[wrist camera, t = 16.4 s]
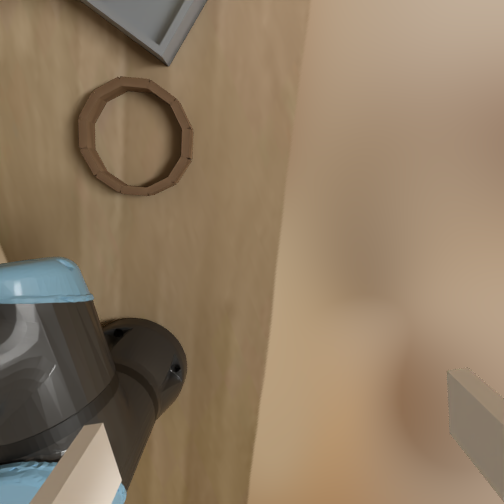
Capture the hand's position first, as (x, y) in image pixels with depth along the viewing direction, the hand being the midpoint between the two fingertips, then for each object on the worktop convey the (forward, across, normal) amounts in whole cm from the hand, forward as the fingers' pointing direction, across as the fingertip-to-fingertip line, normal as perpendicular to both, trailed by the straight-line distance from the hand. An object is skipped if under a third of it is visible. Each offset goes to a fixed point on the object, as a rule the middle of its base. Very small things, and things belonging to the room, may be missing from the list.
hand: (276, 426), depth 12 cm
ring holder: (+32, +13, -17) cm, 38 cm away
